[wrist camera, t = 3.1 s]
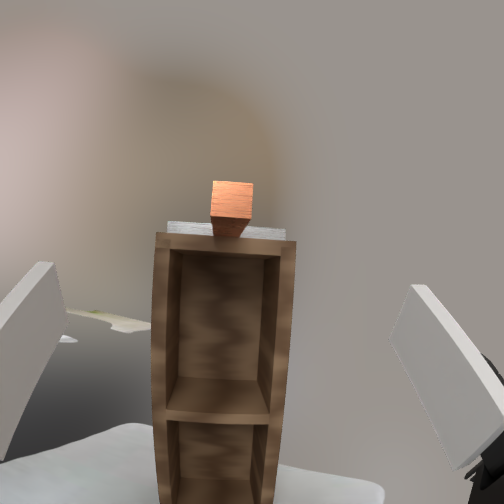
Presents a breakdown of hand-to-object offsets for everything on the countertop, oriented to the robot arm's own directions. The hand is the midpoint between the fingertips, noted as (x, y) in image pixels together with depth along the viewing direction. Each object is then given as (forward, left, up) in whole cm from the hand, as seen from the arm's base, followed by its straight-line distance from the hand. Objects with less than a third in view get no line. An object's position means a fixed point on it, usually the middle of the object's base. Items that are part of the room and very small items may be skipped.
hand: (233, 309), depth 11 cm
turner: (0, +14, +4) cm, 14 cm away
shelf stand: (0, +19, -26) cm, 32 cm away
